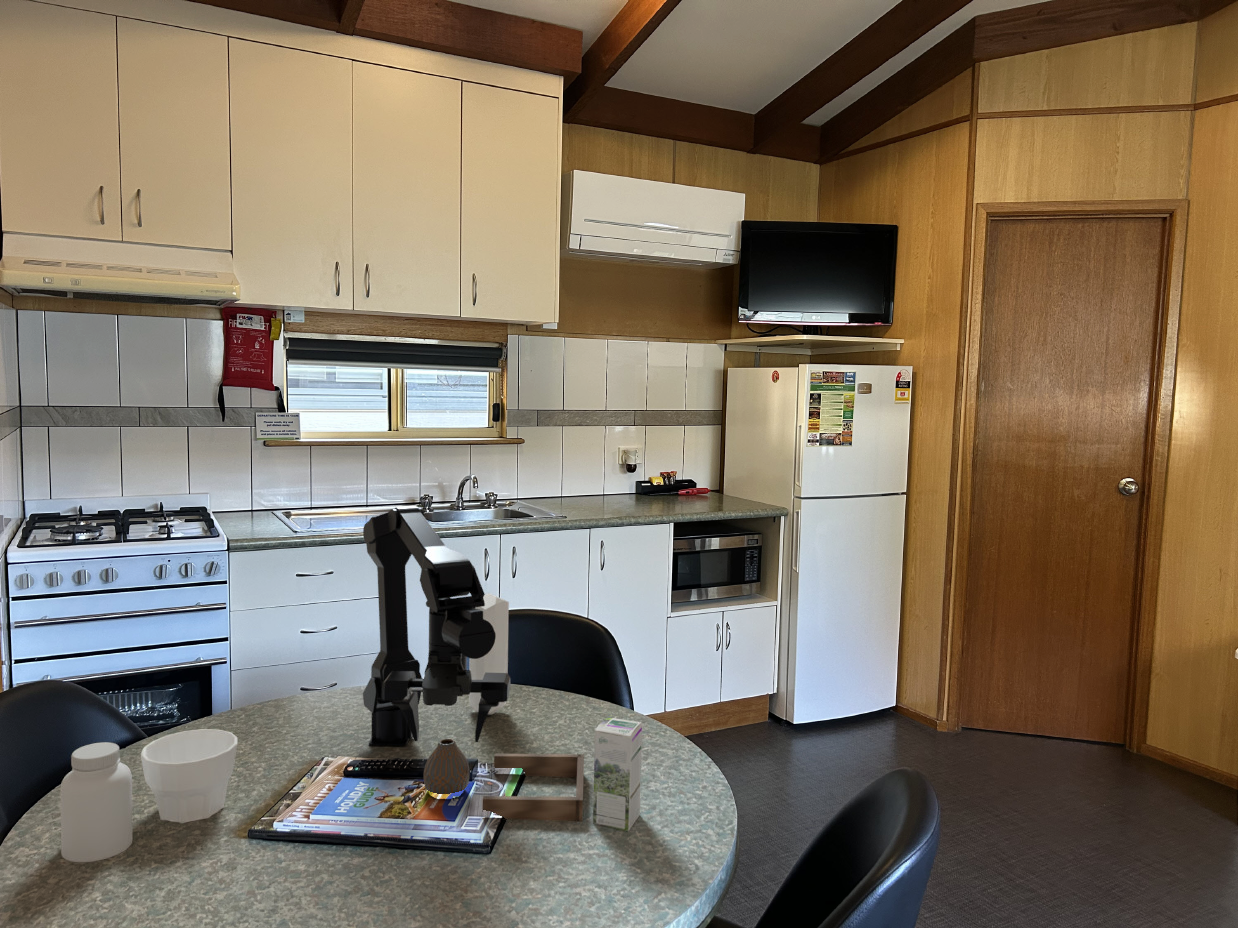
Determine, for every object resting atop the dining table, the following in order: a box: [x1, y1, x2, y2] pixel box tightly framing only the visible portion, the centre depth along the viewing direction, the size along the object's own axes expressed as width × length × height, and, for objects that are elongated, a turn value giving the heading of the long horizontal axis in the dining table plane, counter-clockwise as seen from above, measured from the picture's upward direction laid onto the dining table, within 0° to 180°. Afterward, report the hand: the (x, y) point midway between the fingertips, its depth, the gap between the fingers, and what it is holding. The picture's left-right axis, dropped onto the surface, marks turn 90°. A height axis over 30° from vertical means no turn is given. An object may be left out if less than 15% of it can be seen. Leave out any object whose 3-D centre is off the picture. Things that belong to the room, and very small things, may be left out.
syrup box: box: [592, 716, 643, 832], centre depth 126 cm, size 6×6×14 cm
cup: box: [140, 728, 239, 824], centre depth 123 cm, size 12×12×11 cm
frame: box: [482, 753, 585, 822], centre depth 133 cm, size 14×16×4 cm
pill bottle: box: [59, 741, 133, 863], centre depth 112 cm, size 8×8×15 cm
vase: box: [423, 738, 470, 794], centre depth 133 cm, size 7×7×9 cm
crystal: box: [468, 592, 510, 716], centre depth 165 cm, size 7×7×24 cm
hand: (446, 740), depth 132 cm, fingers open, 9 cm apart
